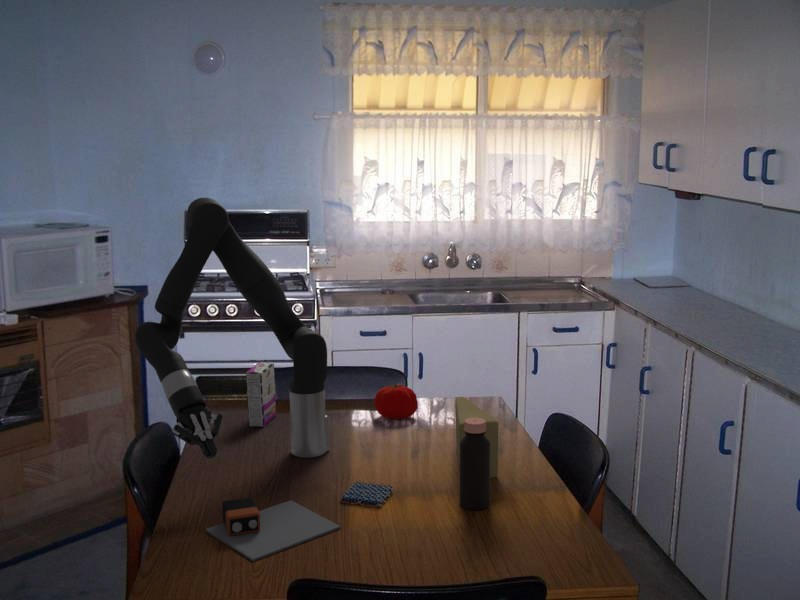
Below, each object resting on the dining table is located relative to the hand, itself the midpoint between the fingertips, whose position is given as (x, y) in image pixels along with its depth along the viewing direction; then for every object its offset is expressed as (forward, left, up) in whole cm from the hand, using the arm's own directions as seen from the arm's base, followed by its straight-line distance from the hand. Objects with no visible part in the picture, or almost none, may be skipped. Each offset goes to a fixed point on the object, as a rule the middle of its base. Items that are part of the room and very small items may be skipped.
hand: (212, 456), depth 206 cm
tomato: (-71, -17, -11) cm, 74 cm away
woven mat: (-28, +22, -12) cm, 37 cm away
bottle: (-43, +42, -11) cm, 61 cm away
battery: (+1, +11, -8) cm, 14 cm away
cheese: (-60, +23, -11) cm, 65 cm away
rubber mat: (-2, +21, -11) cm, 24 cm away
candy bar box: (-40, -41, -11) cm, 59 cm away
